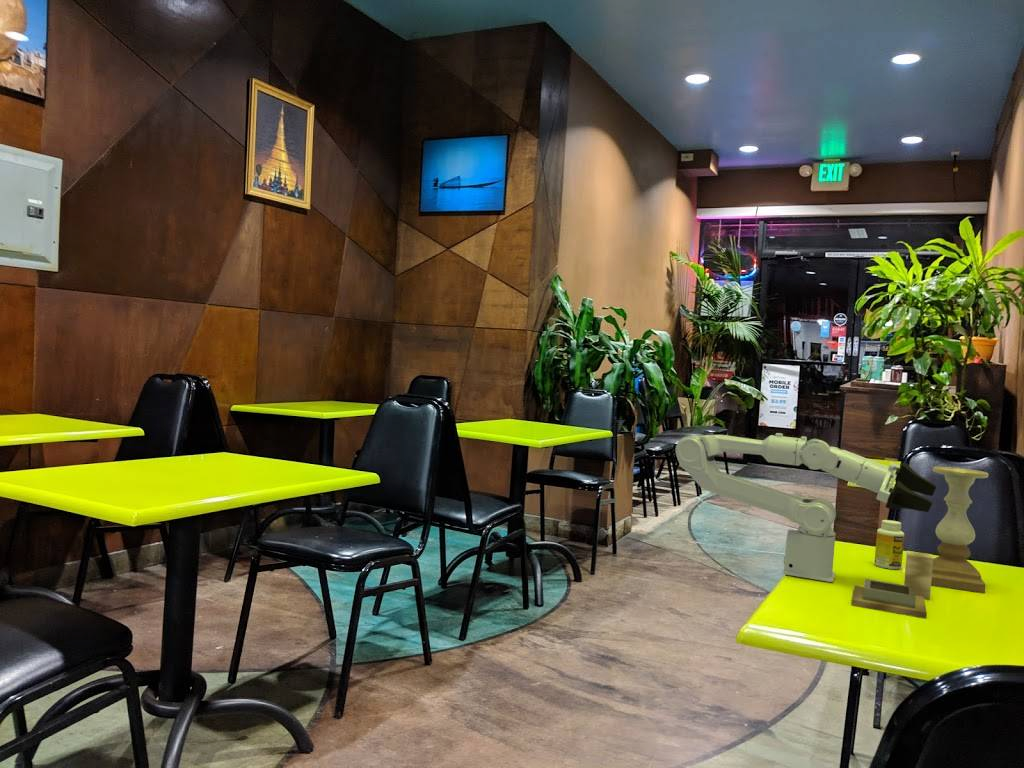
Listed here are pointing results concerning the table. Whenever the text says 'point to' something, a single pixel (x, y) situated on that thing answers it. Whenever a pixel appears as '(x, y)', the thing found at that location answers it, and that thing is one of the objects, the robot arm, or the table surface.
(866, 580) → the gray square frame
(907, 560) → the tan rectangular block
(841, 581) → the table surface
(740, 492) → the robot arm
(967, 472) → the candle holder
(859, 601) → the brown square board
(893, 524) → the supplement bottle
